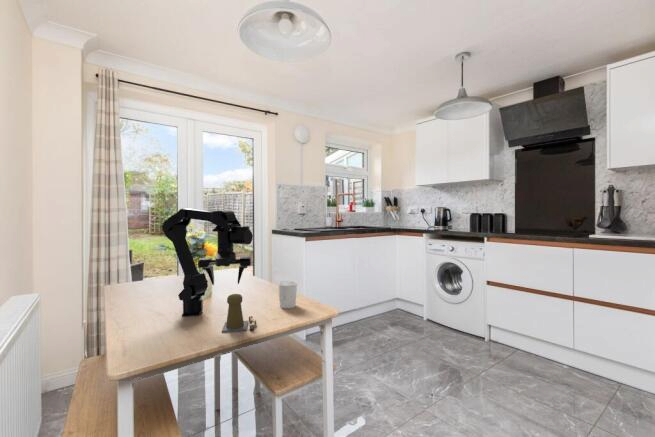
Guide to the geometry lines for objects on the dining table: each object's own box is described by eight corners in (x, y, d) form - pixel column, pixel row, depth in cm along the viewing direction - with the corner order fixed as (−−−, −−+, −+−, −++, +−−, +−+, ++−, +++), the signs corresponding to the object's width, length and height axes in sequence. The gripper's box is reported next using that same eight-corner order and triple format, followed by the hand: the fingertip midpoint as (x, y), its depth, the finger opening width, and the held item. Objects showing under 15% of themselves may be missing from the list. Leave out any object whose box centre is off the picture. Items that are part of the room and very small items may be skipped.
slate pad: (221, 332, 102) (221, 330, 102) (225, 323, 110) (225, 322, 110) (246, 330, 103) (246, 329, 103) (247, 322, 111) (247, 320, 111)
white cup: (293, 309, 125) (293, 285, 125) (275, 308, 127) (275, 284, 126) (299, 303, 133) (299, 281, 133) (282, 302, 134) (282, 280, 134)
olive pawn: (246, 323, 109) (246, 292, 108) (238, 329, 103) (238, 297, 103) (231, 321, 110) (231, 291, 110) (222, 328, 104) (222, 296, 104)
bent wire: (247, 331, 103) (247, 326, 103) (249, 320, 113) (249, 316, 113) (255, 330, 104) (255, 325, 104) (256, 320, 113) (256, 315, 113)
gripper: (194, 246, 105) (194, 291, 105) (249, 245, 108) (249, 288, 109) (201, 243, 116) (201, 283, 116) (251, 242, 119) (251, 281, 120)
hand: (225, 284), depth 115 cm, fingers open, 9 cm apart
